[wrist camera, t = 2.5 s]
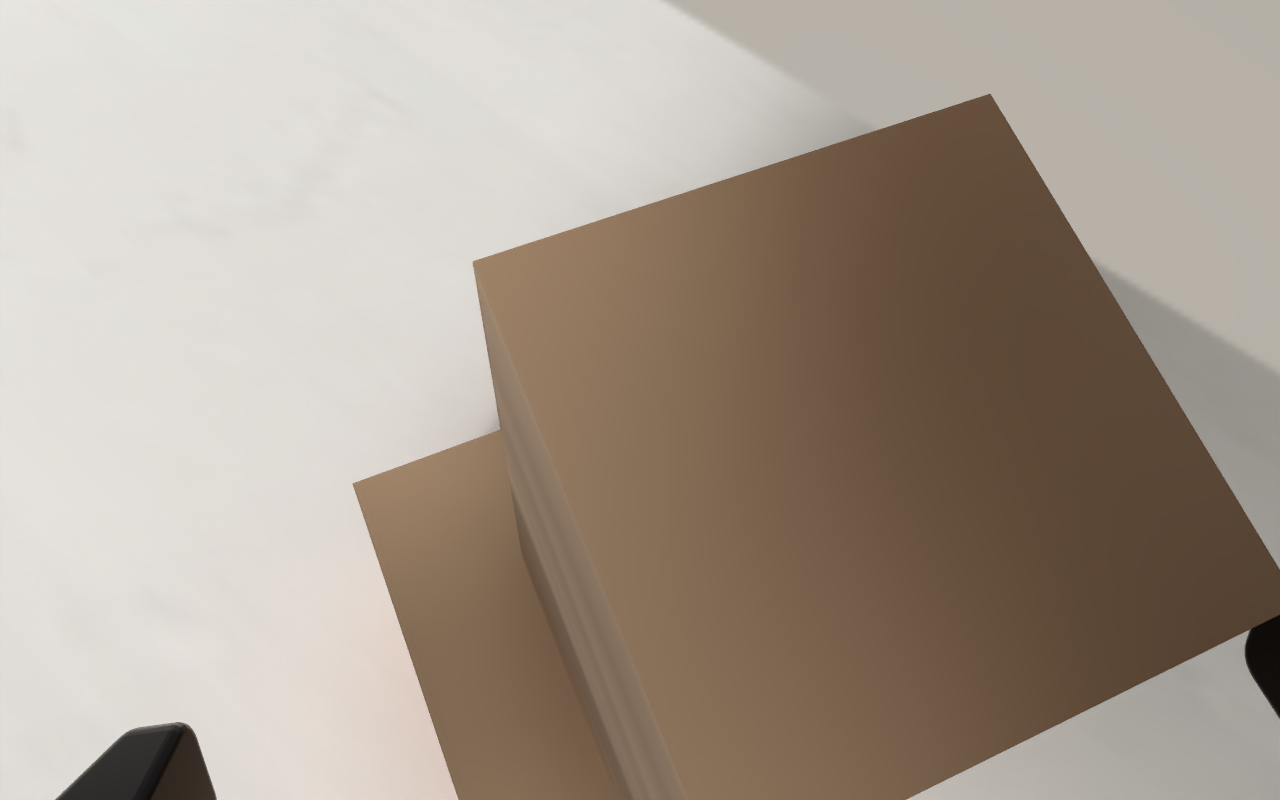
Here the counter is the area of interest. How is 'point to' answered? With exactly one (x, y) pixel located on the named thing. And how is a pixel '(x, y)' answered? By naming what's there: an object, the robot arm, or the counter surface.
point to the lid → (807, 491)
